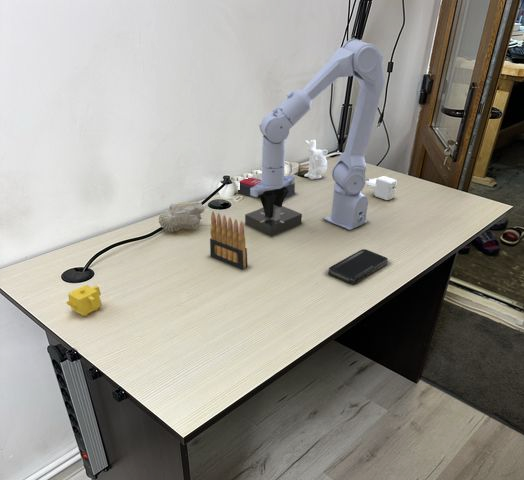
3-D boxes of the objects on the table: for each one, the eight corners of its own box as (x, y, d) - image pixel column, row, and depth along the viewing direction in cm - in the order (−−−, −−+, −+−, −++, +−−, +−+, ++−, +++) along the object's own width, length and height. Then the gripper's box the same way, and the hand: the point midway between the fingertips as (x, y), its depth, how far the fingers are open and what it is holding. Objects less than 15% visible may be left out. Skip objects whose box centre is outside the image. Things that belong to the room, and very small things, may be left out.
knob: (280, 219, 136) (280, 206, 133) (275, 221, 135) (276, 208, 132) (268, 214, 138) (268, 201, 136) (264, 216, 137) (264, 203, 135)
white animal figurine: (298, 177, 170) (300, 140, 162) (310, 172, 174) (312, 136, 166) (318, 183, 165) (321, 145, 158) (330, 178, 169) (333, 141, 162)
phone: (326, 268, 118) (363, 248, 126) (326, 273, 119) (363, 252, 127) (353, 281, 114) (390, 258, 122) (352, 285, 114) (389, 262, 123)
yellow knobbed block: (80, 324, 102) (75, 303, 99) (64, 314, 105) (57, 294, 101) (112, 307, 107) (107, 287, 104) (95, 298, 110) (90, 278, 106)
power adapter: (358, 192, 159) (360, 173, 156) (367, 188, 162) (369, 170, 158) (387, 202, 153) (390, 183, 150) (396, 197, 156) (399, 179, 152)
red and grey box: (258, 171, 163) (295, 179, 155) (258, 184, 165) (295, 193, 158) (236, 181, 156) (273, 189, 148) (237, 194, 159) (274, 204, 151)
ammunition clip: (247, 267, 121) (247, 220, 114) (242, 270, 120) (242, 223, 112) (215, 254, 126) (212, 209, 119) (210, 256, 125) (207, 211, 117)
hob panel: (303, 224, 140) (303, 214, 138) (271, 238, 133) (272, 227, 131) (275, 212, 146) (275, 202, 144) (244, 225, 140) (243, 214, 138)
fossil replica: (154, 228, 138) (174, 244, 132) (150, 201, 132) (171, 216, 127) (190, 214, 143) (211, 228, 138) (187, 187, 137) (209, 200, 132)
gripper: (282, 155, 134) (280, 204, 142) (241, 167, 126) (242, 218, 134) (301, 161, 130) (298, 211, 138) (261, 174, 122) (260, 226, 130)
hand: (272, 215), depth 136 cm, fingers closed
